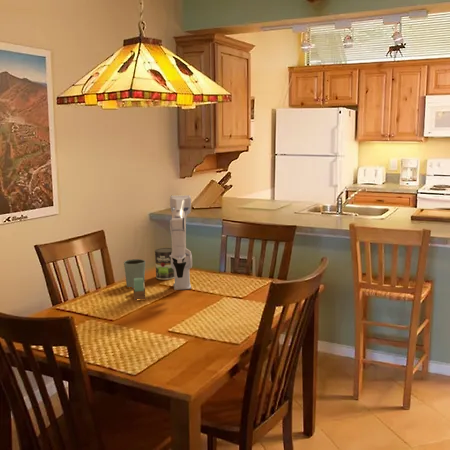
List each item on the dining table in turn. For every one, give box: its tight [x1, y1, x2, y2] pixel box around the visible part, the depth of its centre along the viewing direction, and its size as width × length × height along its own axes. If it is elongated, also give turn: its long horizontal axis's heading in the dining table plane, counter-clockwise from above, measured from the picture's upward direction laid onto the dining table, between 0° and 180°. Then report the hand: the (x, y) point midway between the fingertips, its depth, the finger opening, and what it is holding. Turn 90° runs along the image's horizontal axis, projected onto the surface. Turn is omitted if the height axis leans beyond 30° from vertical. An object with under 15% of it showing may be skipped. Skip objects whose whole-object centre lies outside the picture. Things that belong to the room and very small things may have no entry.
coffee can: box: [154, 247, 175, 281], centre depth 278 cm, size 10×10×14 cm
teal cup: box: [123, 258, 146, 289], centre depth 265 cm, size 10×10×12 cm
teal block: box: [133, 278, 144, 292], centre depth 244 cm, size 4×4×5 cm
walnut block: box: [133, 287, 146, 301], centre depth 245 cm, size 5×5×4 cm
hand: (179, 275), depth 243 cm, fingers open, 7 cm apart
